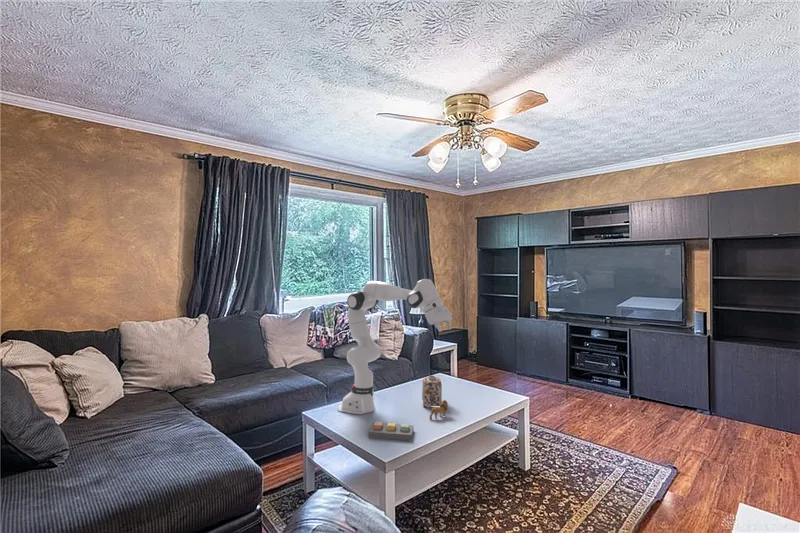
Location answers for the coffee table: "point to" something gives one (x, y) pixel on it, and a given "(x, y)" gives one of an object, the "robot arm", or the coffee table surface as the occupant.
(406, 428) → the sage button
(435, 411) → the lion figurine
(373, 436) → the button panel
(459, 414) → the coffee table surface
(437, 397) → the decorative jar
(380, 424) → the terracotta button
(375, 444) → the coffee table surface
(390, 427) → the ochre button
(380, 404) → the coffee table surface
